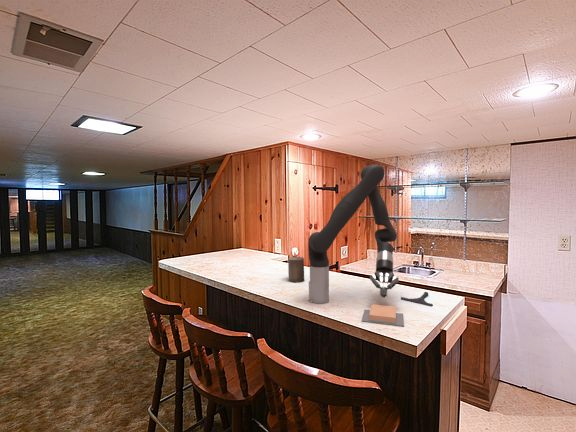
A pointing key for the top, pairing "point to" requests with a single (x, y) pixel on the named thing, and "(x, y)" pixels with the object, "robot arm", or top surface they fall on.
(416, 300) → the bracket
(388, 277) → the robot arm
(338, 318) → the top surface
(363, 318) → the mat
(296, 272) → the pillar candle
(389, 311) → the tile
